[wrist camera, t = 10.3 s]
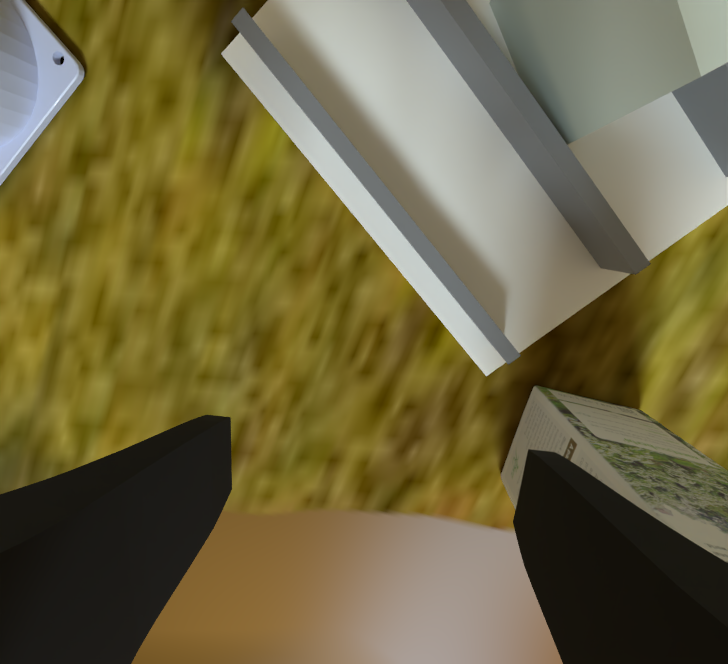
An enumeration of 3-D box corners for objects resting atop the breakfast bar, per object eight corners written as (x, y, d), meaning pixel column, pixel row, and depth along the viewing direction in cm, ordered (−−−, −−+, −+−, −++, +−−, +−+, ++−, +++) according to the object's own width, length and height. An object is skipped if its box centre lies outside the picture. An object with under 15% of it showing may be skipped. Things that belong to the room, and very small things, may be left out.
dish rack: (231, 64, 17) (188, 21, 13) (501, -242, 14) (536, -399, 10) (481, 368, 19) (500, 398, 16) (757, 171, 16) (854, 155, 13)
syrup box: (496, 477, 21) (706, 991, 7) (532, 377, 19) (906, 776, 5) (600, 502, 21) (1037, 1079, 7) (645, 404, 19) (1345, 887, 5)
